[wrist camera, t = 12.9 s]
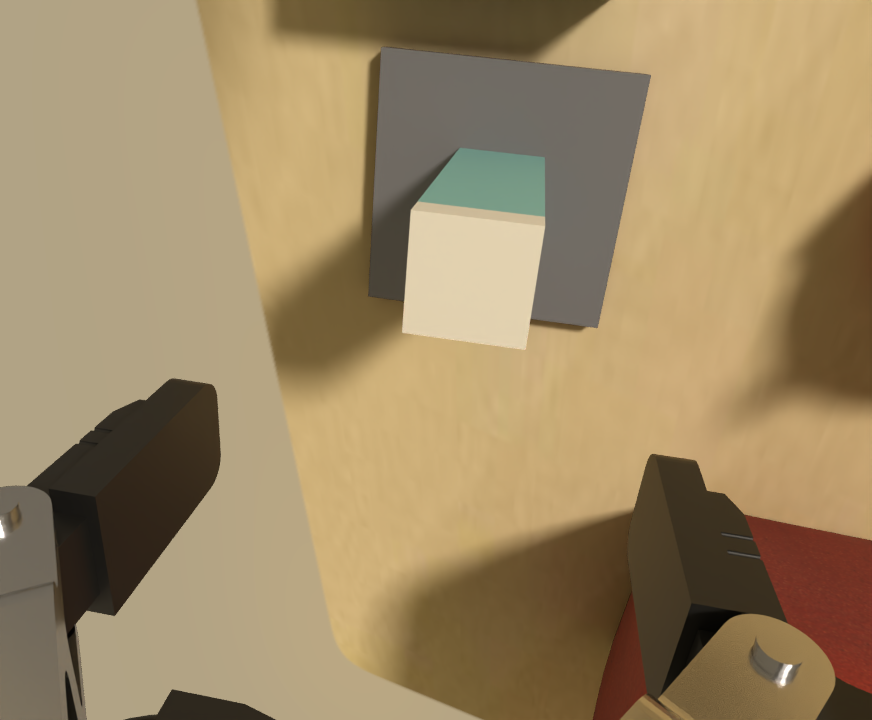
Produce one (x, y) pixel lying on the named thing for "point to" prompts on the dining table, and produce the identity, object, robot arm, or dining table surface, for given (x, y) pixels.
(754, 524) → the plant pot
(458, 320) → the plug
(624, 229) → the dining table surface
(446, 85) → the mat
